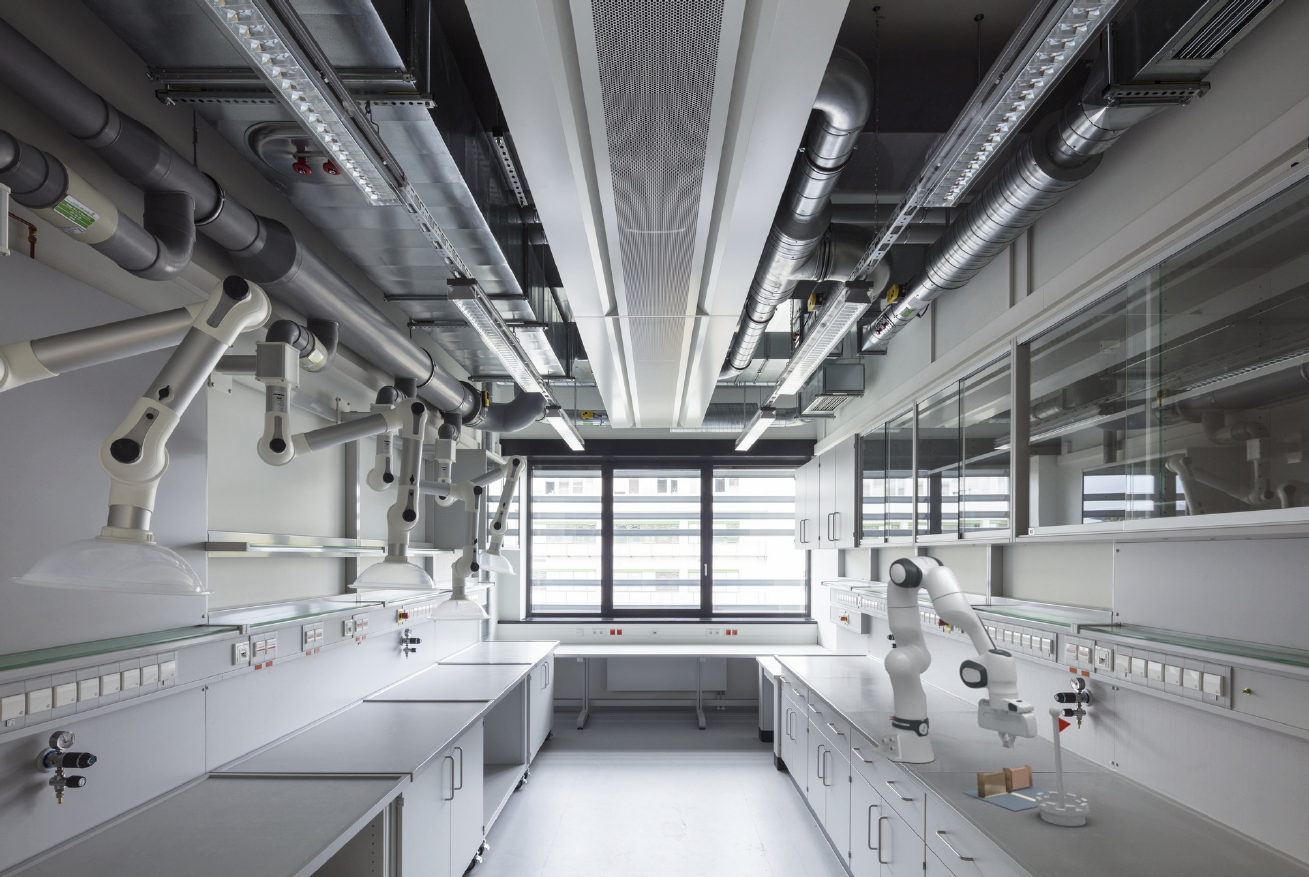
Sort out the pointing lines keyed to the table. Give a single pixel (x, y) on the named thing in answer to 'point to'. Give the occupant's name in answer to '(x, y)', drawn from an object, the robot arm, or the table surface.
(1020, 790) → the board
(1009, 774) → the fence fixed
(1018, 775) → the fence section
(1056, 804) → the flag stand
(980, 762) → the table surface
